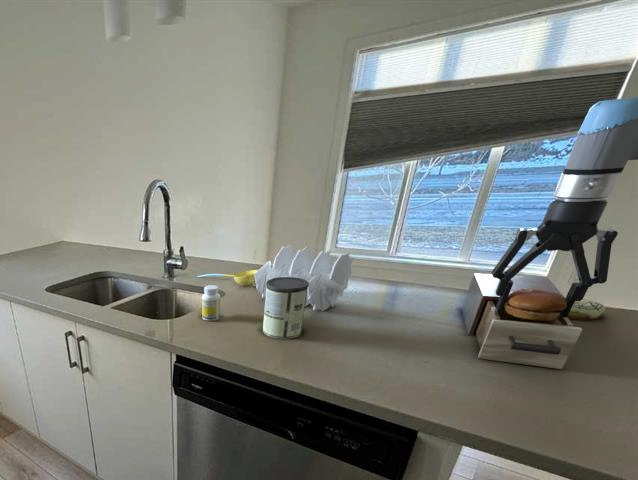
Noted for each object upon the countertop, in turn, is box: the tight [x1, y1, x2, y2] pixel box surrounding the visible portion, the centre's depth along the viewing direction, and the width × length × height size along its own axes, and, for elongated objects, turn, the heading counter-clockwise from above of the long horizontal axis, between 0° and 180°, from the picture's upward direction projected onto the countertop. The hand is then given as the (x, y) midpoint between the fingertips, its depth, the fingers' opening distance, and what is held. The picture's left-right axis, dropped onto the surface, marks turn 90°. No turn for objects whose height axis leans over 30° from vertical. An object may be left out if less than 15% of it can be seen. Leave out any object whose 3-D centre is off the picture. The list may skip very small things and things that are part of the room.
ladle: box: [197, 269, 259, 287], centre depth 154 cm, size 9×26×6 cm, turn 44°
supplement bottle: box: [201, 284, 221, 322], centre depth 122 cm, size 5×5×10 cm
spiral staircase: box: [254, 244, 354, 311], centre depth 123 cm, size 18×18×25 cm
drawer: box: [475, 299, 583, 370], centre depth 88 cm, size 24×13×9 cm, turn 149°
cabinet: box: [461, 273, 564, 337], centre depth 100 cm, size 20×15×11 cm
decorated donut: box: [564, 296, 607, 321], centre depth 104 cm, size 10×11×4 cm
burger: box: [503, 289, 567, 321], centre depth 85 cm, size 10×9×5 cm
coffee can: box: [262, 277, 309, 339], centre depth 107 cm, size 10×10×14 cm
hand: (529, 312), depth 86 cm, fingers closed on burger, 10 cm apart
